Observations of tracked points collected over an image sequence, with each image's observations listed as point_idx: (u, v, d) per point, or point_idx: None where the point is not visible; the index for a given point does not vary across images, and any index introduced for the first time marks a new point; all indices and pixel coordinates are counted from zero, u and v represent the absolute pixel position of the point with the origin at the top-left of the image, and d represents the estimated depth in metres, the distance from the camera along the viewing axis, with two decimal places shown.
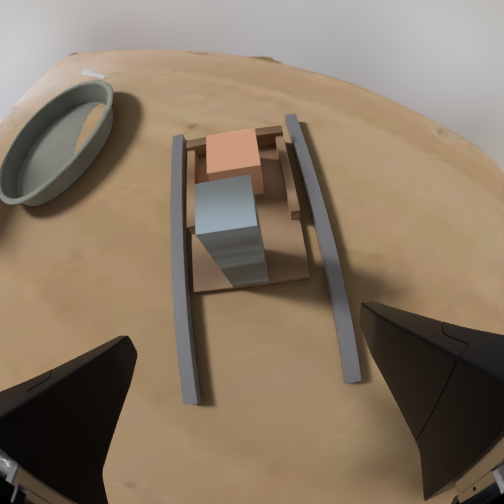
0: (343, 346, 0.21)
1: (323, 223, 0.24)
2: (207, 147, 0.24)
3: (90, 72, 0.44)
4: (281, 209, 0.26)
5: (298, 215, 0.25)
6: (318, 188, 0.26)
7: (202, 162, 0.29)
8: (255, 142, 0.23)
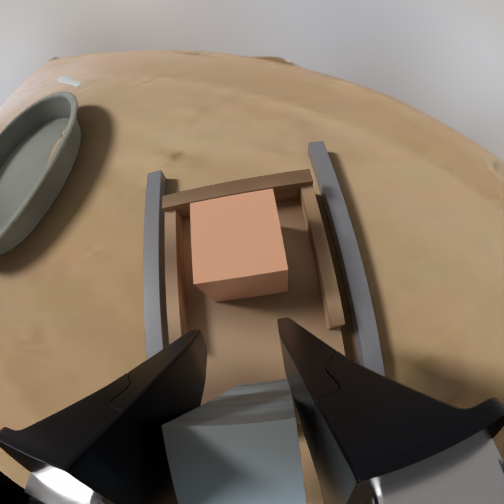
0: None
1: (367, 326, 0.16)
2: (192, 227, 0.14)
3: (66, 79, 0.35)
4: (313, 313, 0.17)
5: (340, 326, 0.16)
6: (361, 268, 0.17)
7: (188, 227, 0.20)
8: (276, 219, 0.14)
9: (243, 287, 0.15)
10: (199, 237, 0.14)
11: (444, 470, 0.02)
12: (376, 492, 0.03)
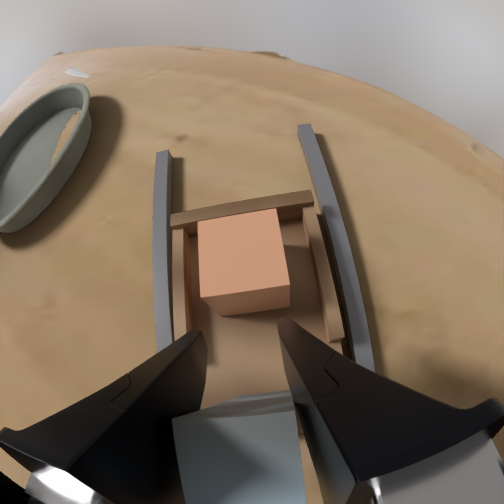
0: None
1: (349, 277, 0.18)
2: (200, 244, 0.15)
3: (74, 72, 0.38)
4: (315, 327, 0.17)
5: (340, 339, 0.16)
6: (342, 227, 0.20)
7: (195, 245, 0.21)
8: (279, 237, 0.15)
9: (247, 301, 0.16)
10: (206, 253, 0.15)
11: (443, 470, 0.02)
12: (375, 491, 0.03)
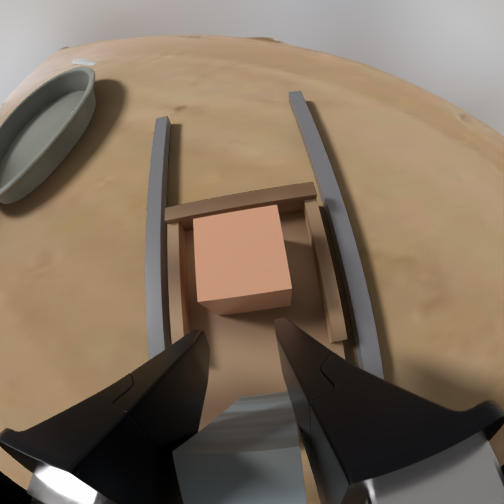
0: None
1: (340, 217, 0.19)
2: (196, 244, 0.14)
3: (81, 61, 0.39)
4: (316, 327, 0.16)
5: (342, 340, 0.15)
6: (332, 174, 0.20)
7: (191, 239, 0.20)
8: (280, 237, 0.14)
9: (246, 303, 0.15)
10: (203, 254, 0.14)
11: (439, 472, 0.02)
12: (370, 493, 0.03)
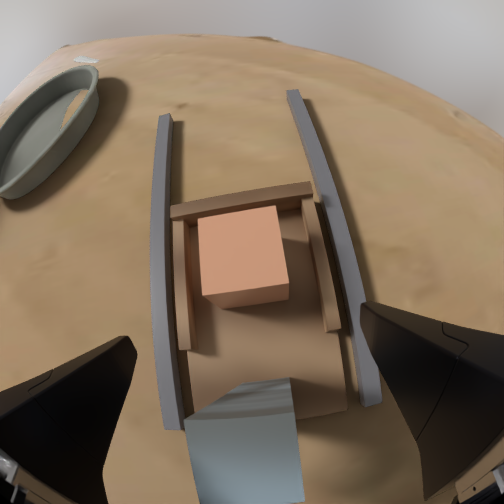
0: (361, 361, 0.16)
1: (334, 209, 0.20)
2: (200, 242, 0.16)
3: (83, 59, 0.39)
4: (312, 317, 0.18)
5: (337, 329, 0.17)
6: (327, 168, 0.21)
7: (195, 235, 0.21)
8: (278, 236, 0.15)
9: (247, 297, 0.16)
10: (207, 251, 0.15)
11: None
12: None
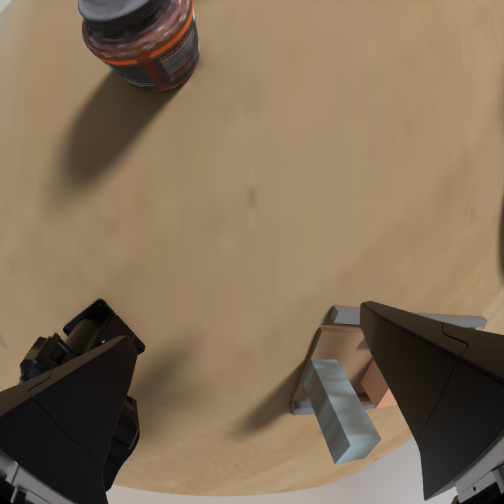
0: None
1: None
2: None
3: None
4: None
5: None
6: None
7: None
8: (393, 404, 0.25)
9: (378, 382, 0.26)
10: None
11: None
12: None
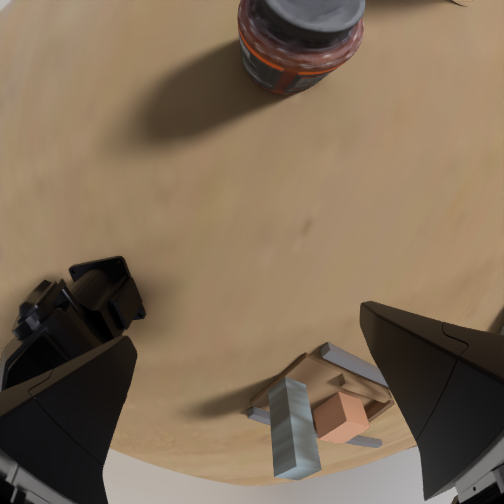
0: None
1: None
2: (362, 425, 0.26)
3: None
4: None
5: None
6: None
7: None
8: (334, 441, 0.28)
9: (330, 417, 0.28)
10: (356, 426, 0.26)
11: None
12: None
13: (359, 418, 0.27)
